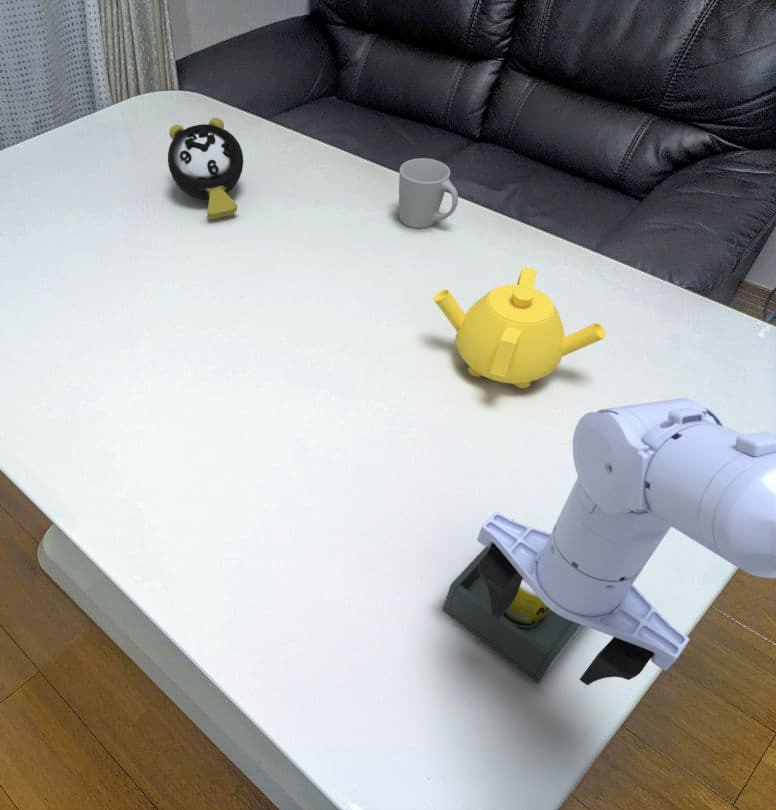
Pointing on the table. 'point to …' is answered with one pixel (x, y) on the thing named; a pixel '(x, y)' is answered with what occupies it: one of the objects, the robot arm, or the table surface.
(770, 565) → the robot arm
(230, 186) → the alarm clock
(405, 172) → the cup
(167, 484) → the table surface
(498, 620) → the storage tray
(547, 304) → the teapot
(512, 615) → the supplement bottle
